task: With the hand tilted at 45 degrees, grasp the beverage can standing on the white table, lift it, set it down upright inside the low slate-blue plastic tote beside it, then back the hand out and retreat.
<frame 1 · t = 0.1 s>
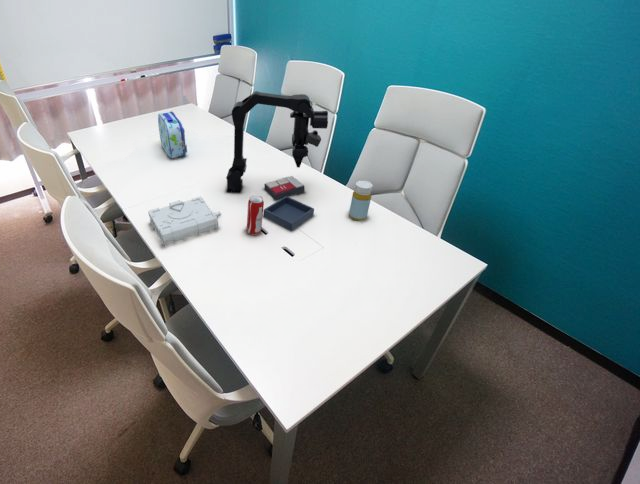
hand: (298, 162, 150), 15 cm above the table, tool pointing down, fingers open, 9 cm apart
grey case: (189, 225, 139), on the table
bottle: (357, 216, 141), on the table
calculator: (284, 191, 159), on the table
beverage can: (254, 231, 134), on the table
lunch box: (174, 151, 198), on the table
tote: (288, 216, 142), on the table
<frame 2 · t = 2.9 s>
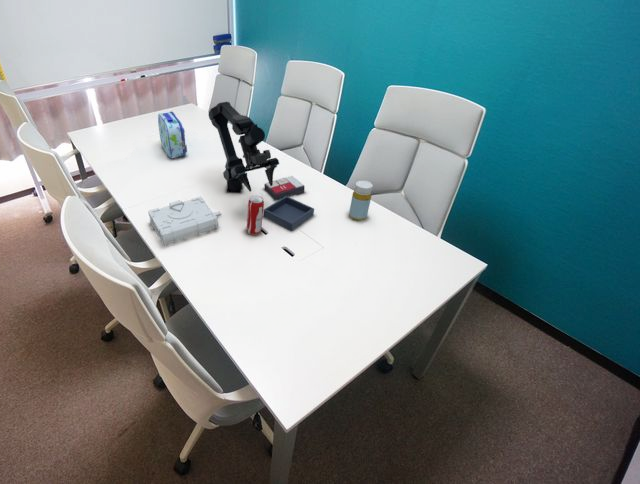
hand: (261, 188, 134), 14 cm above the table, tool tilted 40°, fingers open, 9 cm apart
nothing on the table moved.
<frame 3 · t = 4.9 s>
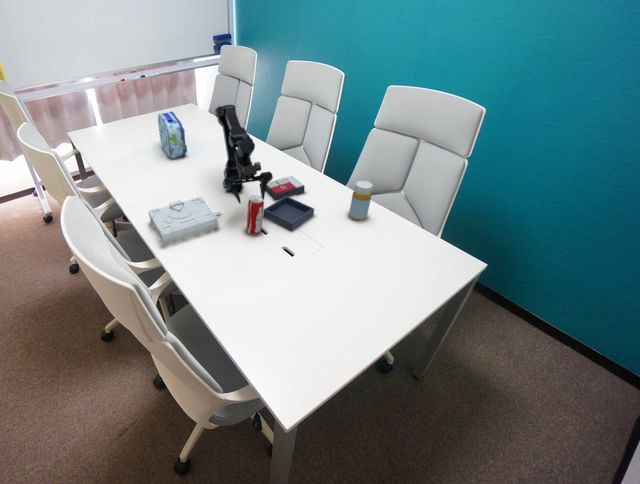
hand: (251, 201, 131), 11 cm above the table, tool tilted 45°, fingers open, 9 cm apart
nothing on the table moved.
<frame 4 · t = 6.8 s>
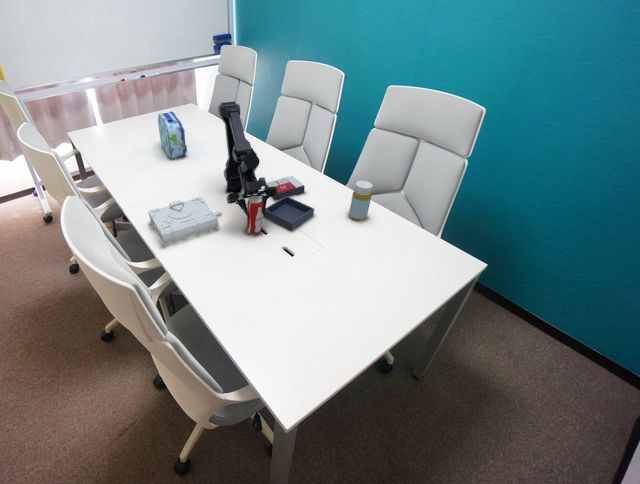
hand: (256, 217, 129), 8 cm above the table, tool tilted 45°, fingers closed on beverage can, 5 cm apart
beverage can: (254, 231, 134), on the table, touching gripper
everything else where it was.
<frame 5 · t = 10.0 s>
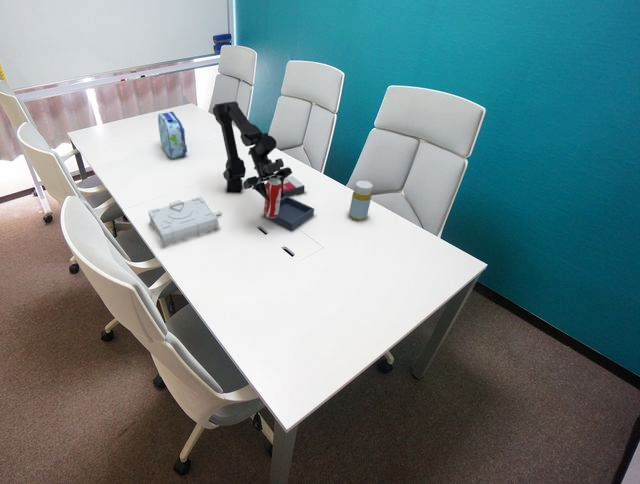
hand: (275, 199, 128), 13 cm above the table, tool tilted 45°, fingers closed on beverage can, 5 cm apart
beverage can: (272, 214, 134), point 5 cm above the table, touching gripper
everything else where it was.
when the fingers open (8 cm above the table, at t = 13.4 s): beverage can stays where it is, resting on tote.
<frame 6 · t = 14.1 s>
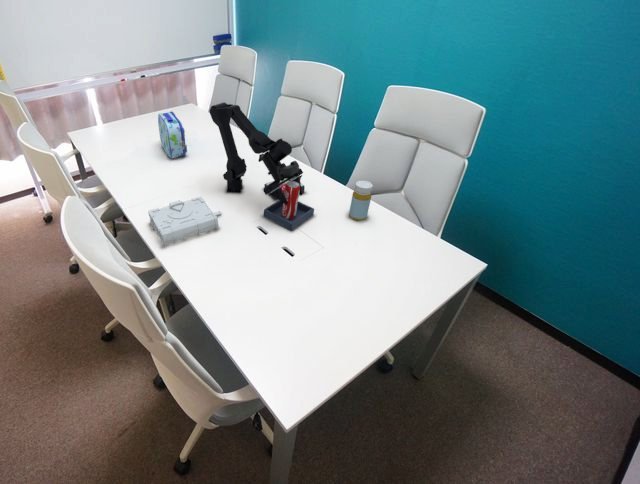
hand: (294, 199, 136), 9 cm above the table, tool tilted 45°, fingers open, 9 cm apart
beverage can: (289, 216, 142), resting on tote
everything else where it was.
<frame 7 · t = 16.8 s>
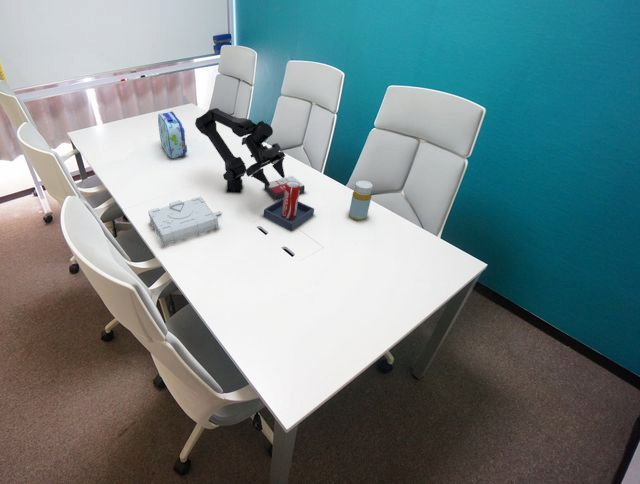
hand: (276, 181, 139), 14 cm above the table, tool tilted 45°, fingers open, 9 cm apart
nothing on the table moved.
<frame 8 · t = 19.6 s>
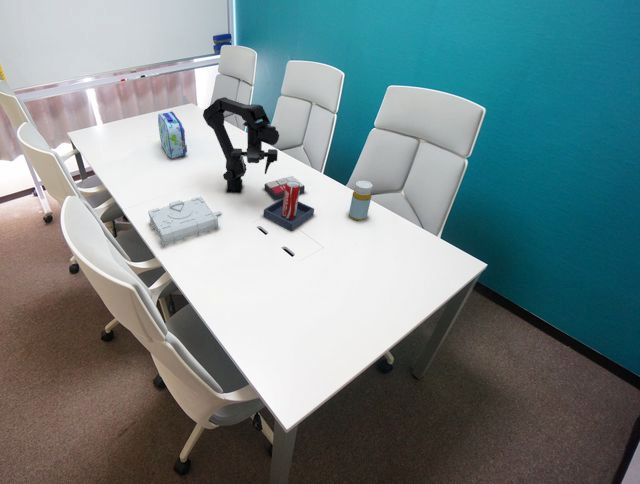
hand: (254, 173, 146), 13 cm above the table, tool pointing down, fingers open, 9 cm apart
nothing on the table moved.
at the end: beverage can inside the target area in the tote (0.7 cm from its centre), point 0.3 cm above the tote's base; beverage can tilted 0°; the gripper is holding nothing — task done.
